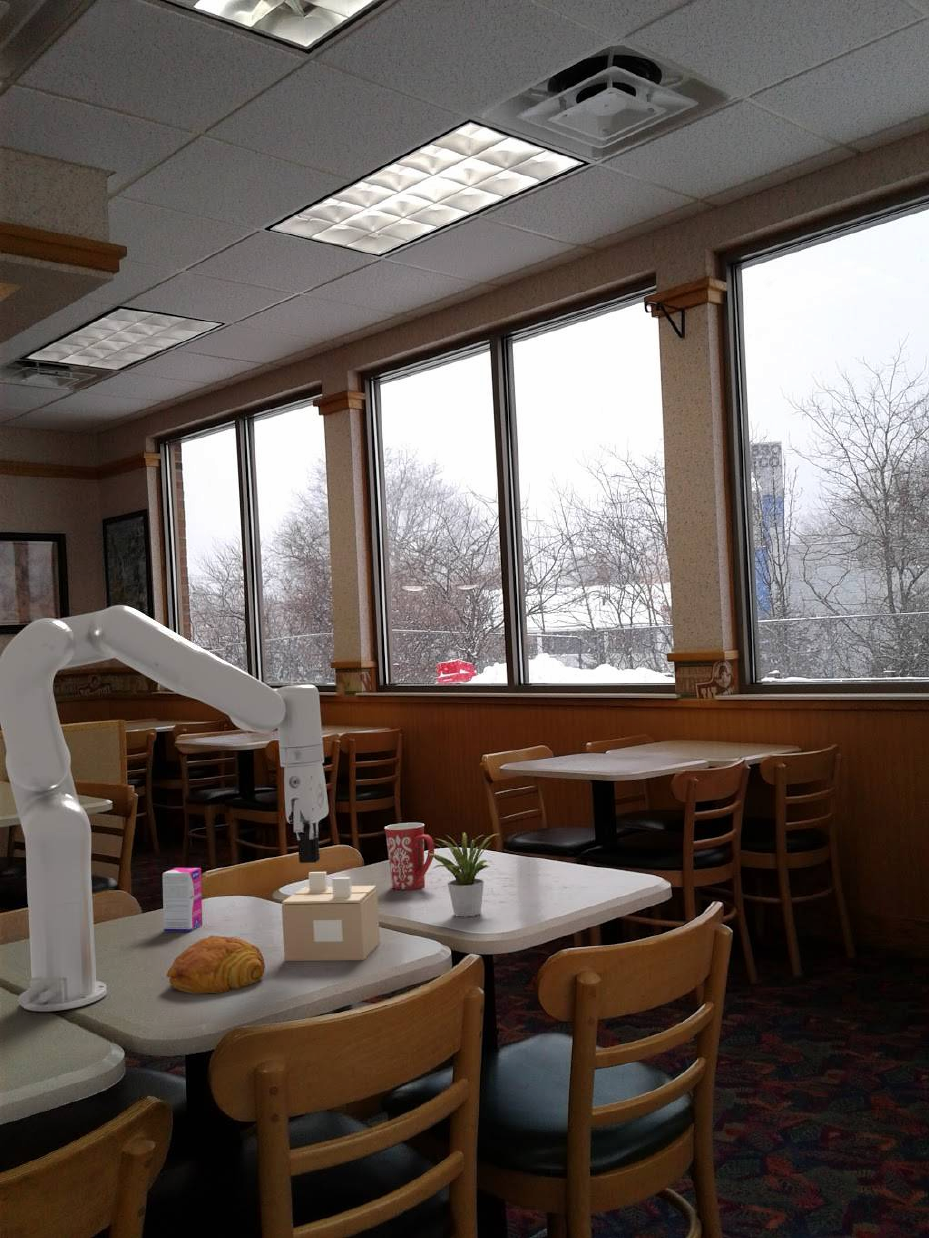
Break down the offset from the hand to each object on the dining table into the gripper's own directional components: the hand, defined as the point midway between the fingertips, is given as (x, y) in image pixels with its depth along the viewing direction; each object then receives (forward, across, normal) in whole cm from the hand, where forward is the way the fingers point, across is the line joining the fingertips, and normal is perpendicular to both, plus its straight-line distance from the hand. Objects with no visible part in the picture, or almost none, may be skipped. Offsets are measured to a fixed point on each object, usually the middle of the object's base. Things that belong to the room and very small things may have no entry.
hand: (309, 861), depth 189 cm
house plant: (+17, +30, -22) cm, 41 cm away
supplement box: (+16, +20, +34) cm, 43 cm away
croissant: (+16, -14, +12) cm, 25 cm away
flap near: (+7, 0, -2) cm, 7 cm away
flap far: (+7, +6, -2) cm, 9 cm away
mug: (+17, +54, -5) cm, 56 cm away
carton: (+16, +2, -2) cm, 17 cm away
